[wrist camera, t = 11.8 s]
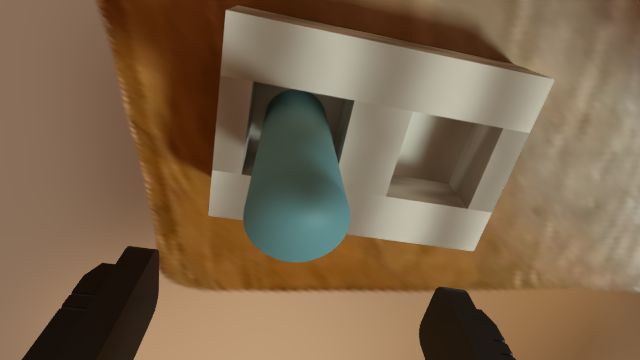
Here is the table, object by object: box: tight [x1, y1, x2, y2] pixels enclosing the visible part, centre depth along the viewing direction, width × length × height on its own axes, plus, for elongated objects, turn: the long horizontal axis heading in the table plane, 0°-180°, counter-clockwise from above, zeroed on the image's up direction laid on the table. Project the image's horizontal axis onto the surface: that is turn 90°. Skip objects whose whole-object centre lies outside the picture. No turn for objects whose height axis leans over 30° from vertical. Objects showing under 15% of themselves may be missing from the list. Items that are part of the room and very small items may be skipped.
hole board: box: [208, 5, 555, 251], centre depth 25 cm, size 18×12×4 cm, turn 78°
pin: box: [243, 89, 350, 262], centre depth 20 cm, size 4×4×12 cm
